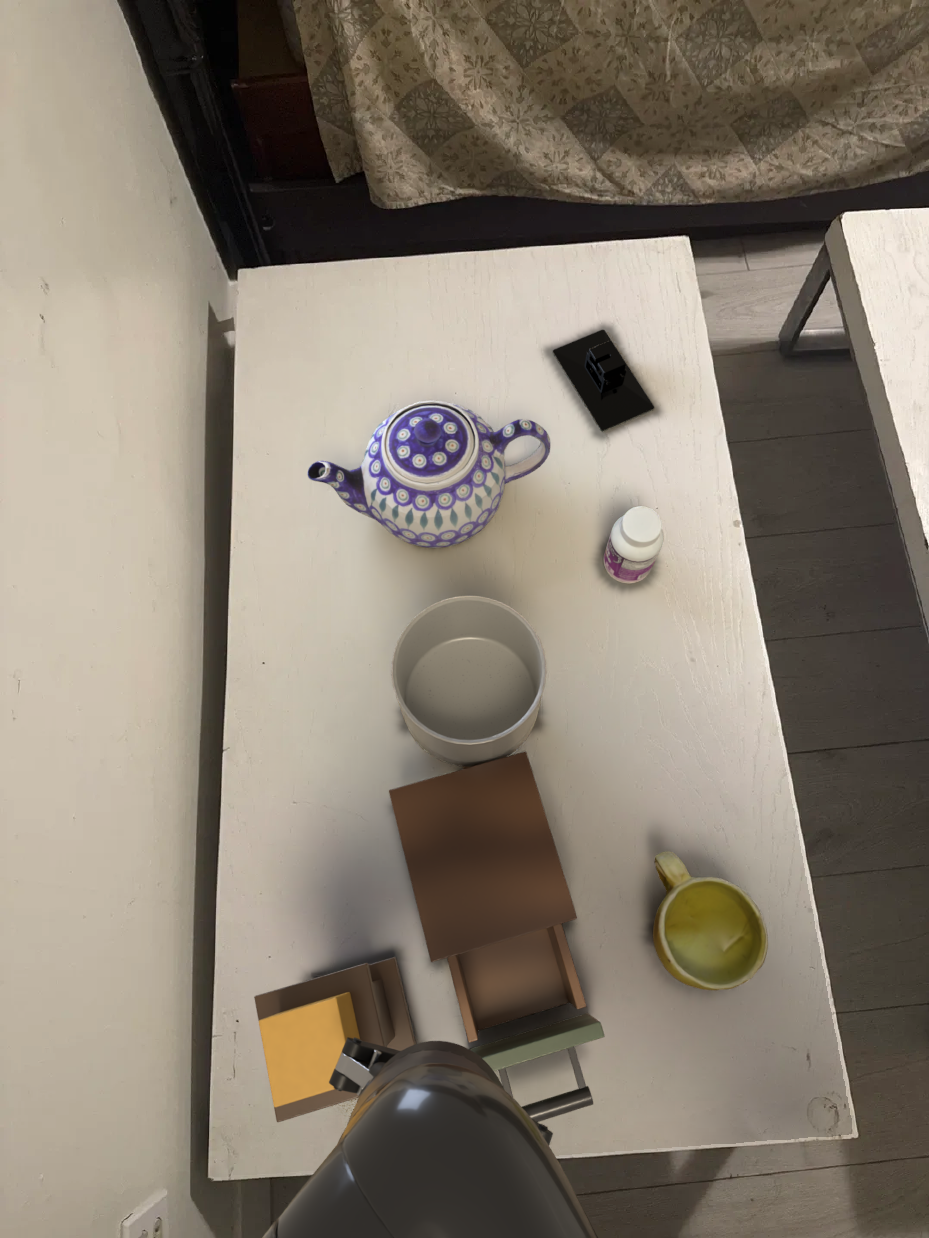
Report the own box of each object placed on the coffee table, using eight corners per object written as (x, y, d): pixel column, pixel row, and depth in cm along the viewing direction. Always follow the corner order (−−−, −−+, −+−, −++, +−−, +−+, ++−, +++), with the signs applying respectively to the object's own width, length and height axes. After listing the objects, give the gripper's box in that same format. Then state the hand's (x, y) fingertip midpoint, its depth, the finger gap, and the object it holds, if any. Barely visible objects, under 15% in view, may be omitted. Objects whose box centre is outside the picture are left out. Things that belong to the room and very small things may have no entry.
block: (366, 1069, 59) (354, 1083, 53) (294, 1091, 58) (273, 1107, 53) (349, 991, 60) (336, 996, 55) (279, 1012, 60) (258, 1020, 54)
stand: (417, 1047, 79) (393, 1086, 58) (331, 1074, 78) (276, 1122, 58) (395, 956, 82) (366, 962, 61) (312, 981, 81) (253, 996, 60)
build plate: (551, 352, 105) (554, 326, 100) (605, 330, 106) (610, 304, 101) (601, 432, 100) (606, 409, 96) (656, 408, 101) (664, 384, 97)
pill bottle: (599, 541, 96) (611, 500, 87) (648, 538, 96) (665, 497, 87) (605, 587, 94) (618, 549, 85) (654, 584, 94) (673, 546, 85)
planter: (408, 658, 92) (392, 596, 75) (532, 656, 91) (543, 594, 75) (407, 782, 87) (389, 745, 70) (537, 780, 87) (550, 743, 70)
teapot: (533, 426, 101) (541, 343, 87) (559, 545, 96) (573, 477, 82) (318, 459, 100) (291, 381, 86) (332, 581, 95) (306, 518, 81)
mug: (790, 979, 78) (783, 970, 70) (682, 1011, 81) (662, 1006, 72) (737, 848, 85) (724, 825, 76) (637, 881, 87) (615, 863, 79)
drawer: (610, 1085, 77) (625, 1103, 68) (485, 1124, 76) (485, 1147, 68) (547, 876, 83) (554, 869, 75) (431, 910, 82) (425, 906, 74)
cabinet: (566, 920, 82) (577, 918, 72) (437, 959, 81) (431, 962, 71) (521, 772, 87) (526, 750, 77) (399, 806, 86) (388, 789, 76)
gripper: (264, 1165, 39) (327, 1098, 56) (538, 1301, 38) (521, 1190, 54) (335, 998, 42) (376, 980, 58) (596, 1118, 40) (563, 1065, 56)
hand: (446, 1081), depth 56 cm, fingers closed
